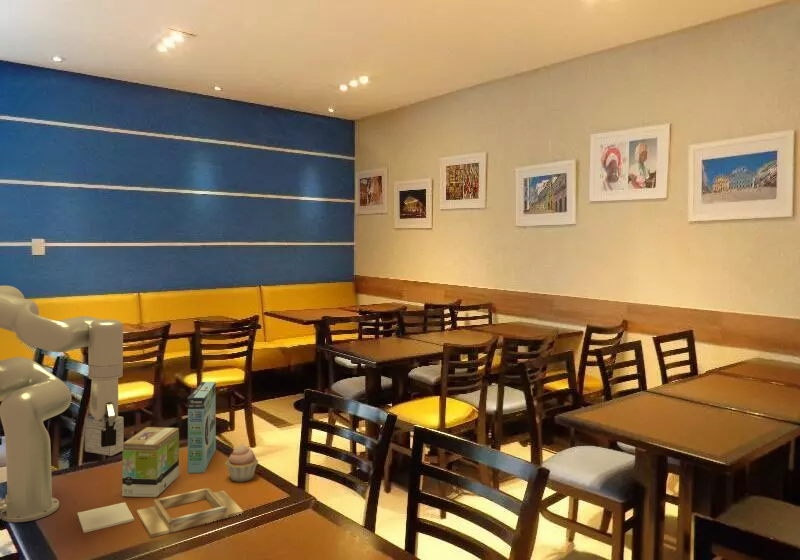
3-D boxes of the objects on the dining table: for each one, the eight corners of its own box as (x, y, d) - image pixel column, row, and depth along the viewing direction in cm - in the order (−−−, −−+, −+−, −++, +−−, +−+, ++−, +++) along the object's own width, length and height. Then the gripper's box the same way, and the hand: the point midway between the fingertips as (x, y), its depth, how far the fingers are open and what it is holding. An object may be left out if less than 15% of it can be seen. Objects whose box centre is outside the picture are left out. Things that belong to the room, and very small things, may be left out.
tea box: (158, 498, 161) (157, 443, 160) (121, 497, 161) (120, 443, 160) (180, 476, 176) (179, 426, 175) (146, 475, 176) (145, 425, 175)
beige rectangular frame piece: (151, 538, 139) (151, 525, 139) (137, 513, 152) (136, 501, 152) (243, 514, 152) (243, 502, 152) (223, 493, 164) (223, 482, 164)
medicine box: (124, 450, 149) (124, 416, 149) (110, 456, 145) (111, 421, 144) (97, 446, 151) (98, 412, 151) (83, 452, 147) (84, 417, 147)
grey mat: (83, 532, 142) (83, 530, 141) (77, 515, 151) (77, 512, 150) (134, 520, 148) (134, 518, 148) (125, 504, 157) (125, 502, 157)
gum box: (201, 450, 197) (200, 381, 195) (217, 450, 198) (216, 381, 196) (187, 473, 178) (186, 397, 176) (205, 473, 178) (204, 397, 177)
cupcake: (257, 470, 181) (257, 437, 180) (259, 482, 172) (259, 448, 171) (225, 473, 178) (225, 440, 178) (225, 485, 169) (224, 450, 169)
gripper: (83, 364, 152) (82, 432, 153) (94, 379, 138) (93, 453, 139) (115, 362, 156) (114, 427, 157) (129, 376, 142) (128, 448, 143)
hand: (104, 439), depth 148 cm, fingers closed on medicine box, 9 cm apart
